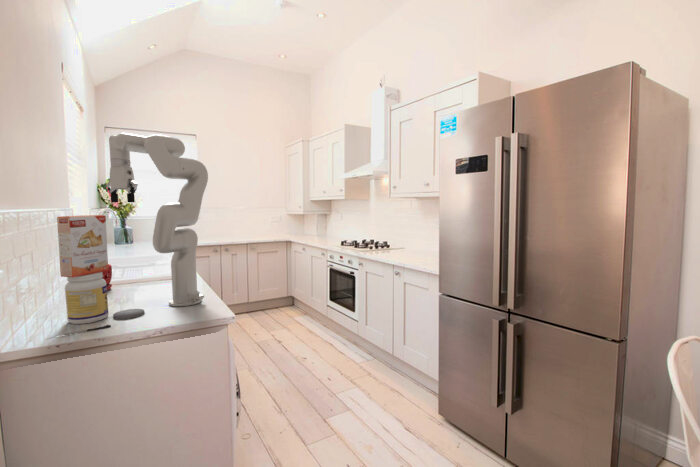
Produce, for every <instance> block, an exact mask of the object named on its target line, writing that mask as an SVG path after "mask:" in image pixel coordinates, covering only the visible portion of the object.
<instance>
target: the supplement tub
mask: <svg viewBox="0 0 700 467" xmlns="http://www.w3.org/2000/svg"><path fill="white" fill-rule="evenodd" d="M102 277H103V272H97V273H92V274H87V275H82V276H77V277H66V278H67V279H66V284H65V285H64V293H65V294H64V295H65V306H66V316H67V322H68V323H70V324H73V325H83V324H84V325H85V324H90V323H91V324H92V323H96V322H100V321H102V320H105V319H107V317H108V316H109V303H108V290H107V286H106V281H105V280H104V279H102Z"/></svg>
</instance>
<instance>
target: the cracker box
mask: <svg viewBox="0 0 700 467" xmlns="http://www.w3.org/2000/svg"><path fill="white" fill-rule="evenodd" d="M56 222H57V239H58V253H59V255H58V256H59V269H60V273H59V274H60V277H62V278H63V277H65V278H67V277H77V276H82V275H87V274H92V273H97V272H102V271H107V270H108V264H109V263H108V262H109V261H108V260H109V258H108V257H109V256H108V239H107V235H108V234H107V216H106V215H102V214H101V215H100V214H99V215H98V214H93V215H90V214H89V215H87V214H86V215H65V216H64V215H63V216H57V217H56Z"/></svg>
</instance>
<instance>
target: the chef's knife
mask: <svg viewBox="0 0 700 467" xmlns="http://www.w3.org/2000/svg"><path fill="white" fill-rule="evenodd" d="M111 327H112V325H110V324H106V325H104V326H98V327H93V328H87V329H81V330H75V331H72V332H71V331H70V332H67V334H66V333H63V334H64V335H67V336H71V335H70V334H72V335H76V334H75V333H78V334H82V332H83V333H87V332H93V331H98V330H102V329H109V328H111Z"/></svg>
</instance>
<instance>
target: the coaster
mask: <svg viewBox="0 0 700 467" xmlns="http://www.w3.org/2000/svg"><path fill="white" fill-rule="evenodd" d="M144 314H145V309H142V308H129V309H124V310H119V311H117V312H115V313H113V314H112V318H113V319H115V320H121V321H122V320H130V319H136V318H139V317H142V316H144Z"/></svg>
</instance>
